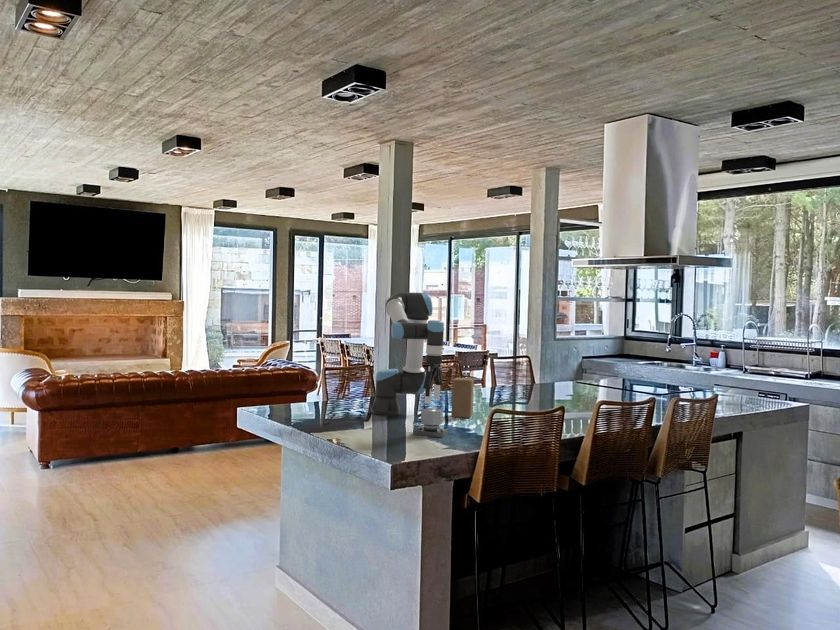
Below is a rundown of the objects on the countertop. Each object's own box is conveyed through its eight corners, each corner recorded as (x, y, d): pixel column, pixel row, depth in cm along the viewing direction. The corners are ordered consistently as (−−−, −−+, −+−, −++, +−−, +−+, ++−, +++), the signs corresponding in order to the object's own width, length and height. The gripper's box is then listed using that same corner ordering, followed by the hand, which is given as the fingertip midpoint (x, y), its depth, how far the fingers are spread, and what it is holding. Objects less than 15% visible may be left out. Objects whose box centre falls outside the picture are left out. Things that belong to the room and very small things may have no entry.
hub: (419, 423, 318) (419, 410, 318) (425, 420, 327) (425, 407, 327) (438, 425, 315) (438, 412, 315) (443, 422, 324) (444, 409, 324)
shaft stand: (412, 434, 319) (413, 410, 318) (419, 430, 328) (420, 407, 328) (442, 437, 314) (443, 413, 314) (448, 433, 324) (449, 409, 323)
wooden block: (470, 418, 367) (471, 380, 366) (451, 417, 369) (452, 379, 368) (472, 415, 377) (474, 378, 376) (453, 414, 379) (455, 377, 378)
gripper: (434, 357, 307) (431, 406, 308) (449, 352, 331) (447, 398, 332) (417, 356, 310) (415, 404, 311) (434, 351, 333) (432, 396, 334)
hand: (432, 401), depth 321 cm, fingers open, 13 cm apart
